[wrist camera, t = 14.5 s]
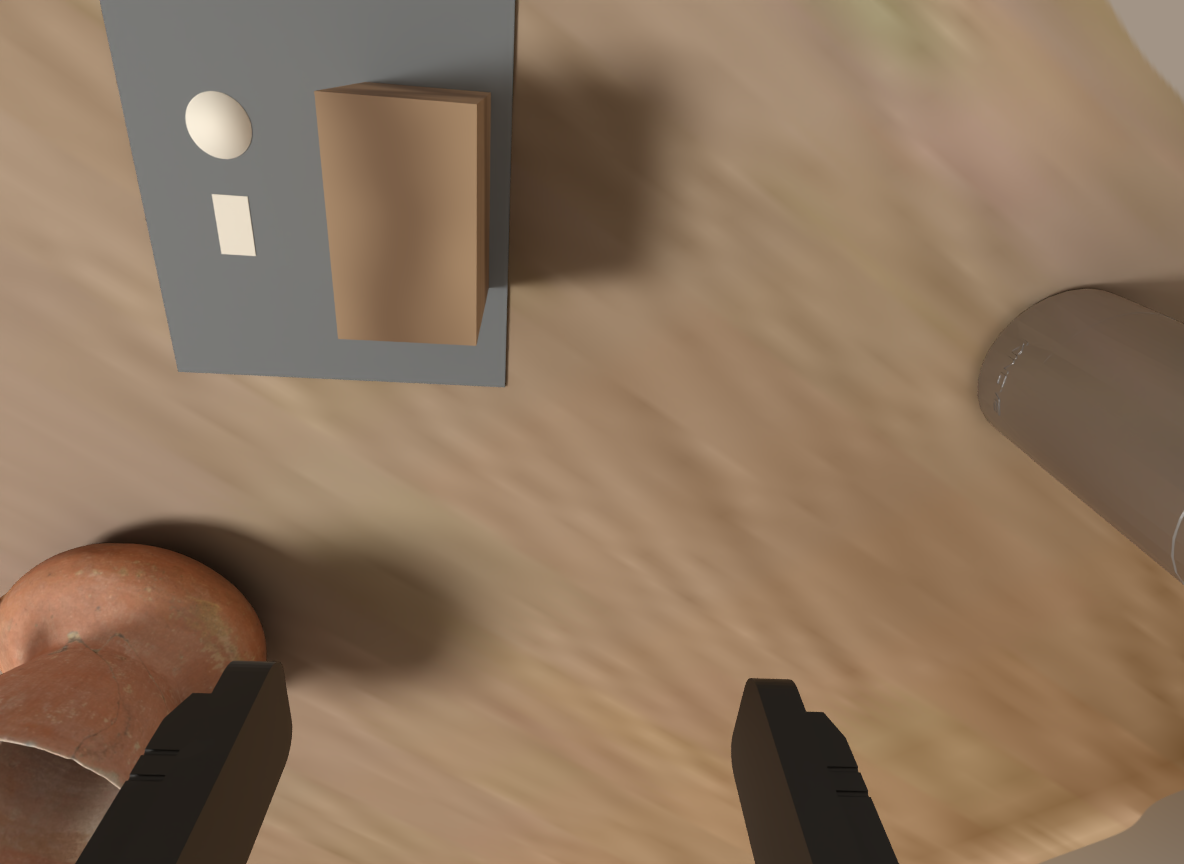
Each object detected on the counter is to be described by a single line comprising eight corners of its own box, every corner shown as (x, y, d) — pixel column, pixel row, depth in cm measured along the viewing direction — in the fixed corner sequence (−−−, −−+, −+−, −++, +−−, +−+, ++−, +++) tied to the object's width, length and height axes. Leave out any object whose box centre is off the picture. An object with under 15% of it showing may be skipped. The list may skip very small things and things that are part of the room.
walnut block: (490, 92, 32) (476, 104, 25) (488, 288, 36) (476, 345, 29) (365, 82, 31) (314, 91, 24) (378, 281, 35) (338, 338, 28)
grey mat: (516, -53, 29) (516, -53, 29) (505, 386, 39) (504, 387, 38) (80, -99, 28) (77, -100, 27) (179, 370, 37) (177, 372, 37)
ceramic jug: (-15, 634, 44) (-231, 862, 32) (51, 468, 39) (-177, 663, 27) (262, 730, 50) (170, 955, 38) (351, 596, 45) (279, 806, 32)
